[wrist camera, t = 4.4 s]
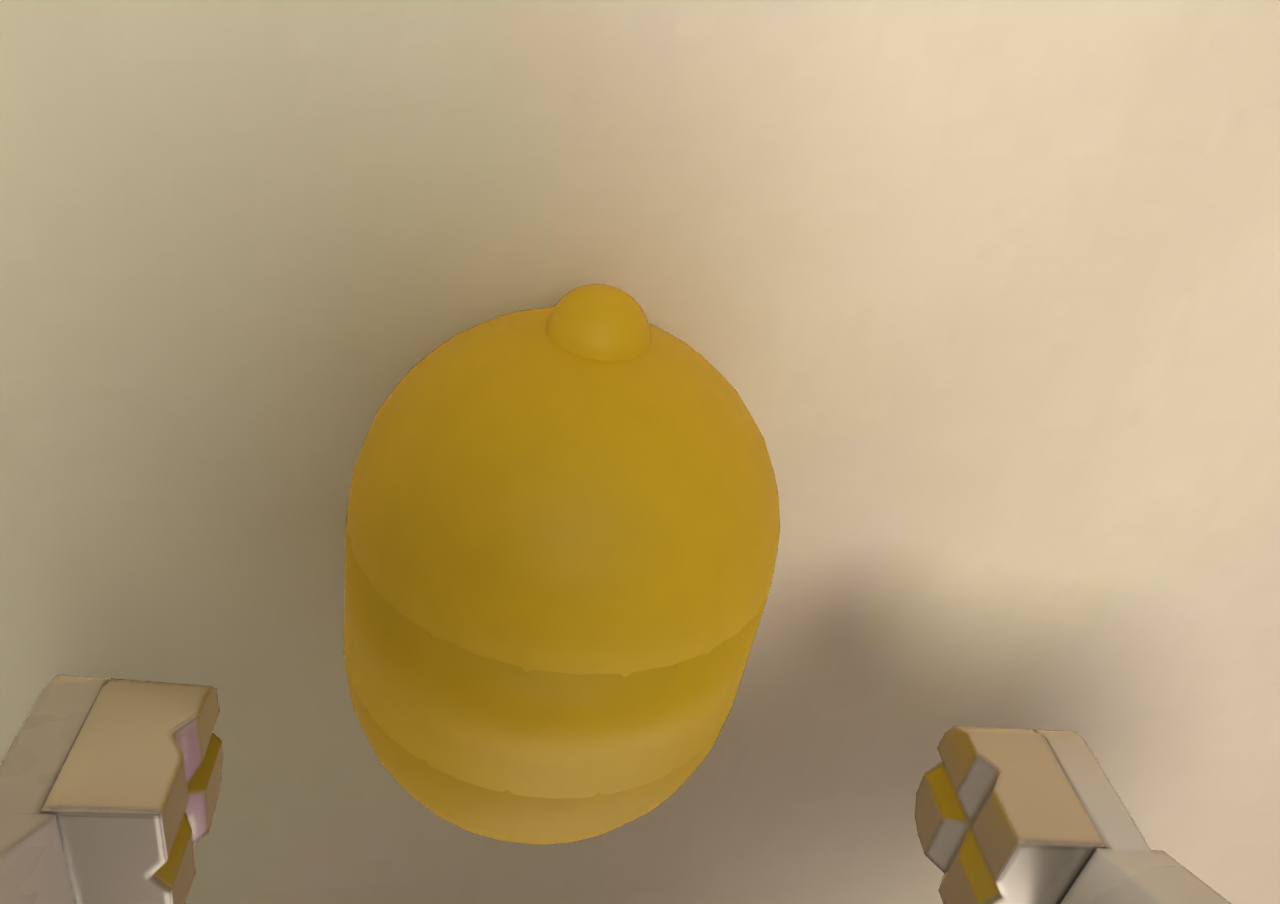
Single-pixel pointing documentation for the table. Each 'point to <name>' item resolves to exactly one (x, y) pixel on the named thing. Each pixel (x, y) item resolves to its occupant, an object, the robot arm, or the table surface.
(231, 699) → the table surface
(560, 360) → the lemon
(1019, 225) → the table surface
